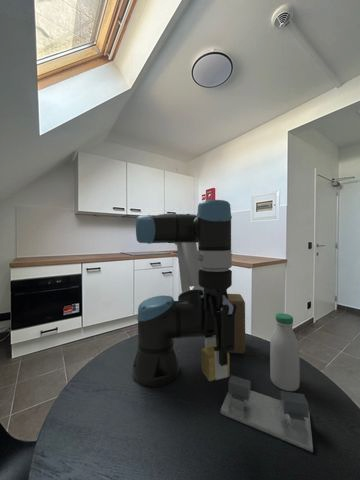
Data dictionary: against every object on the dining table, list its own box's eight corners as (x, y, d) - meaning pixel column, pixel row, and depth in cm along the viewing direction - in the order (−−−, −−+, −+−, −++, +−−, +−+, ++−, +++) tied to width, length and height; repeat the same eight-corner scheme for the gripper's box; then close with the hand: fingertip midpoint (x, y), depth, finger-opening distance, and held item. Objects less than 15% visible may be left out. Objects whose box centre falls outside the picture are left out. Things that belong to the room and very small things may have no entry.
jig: (220, 413, 50) (220, 389, 50) (231, 387, 58) (231, 366, 58) (312, 452, 40) (312, 423, 40) (309, 414, 49) (308, 389, 49)
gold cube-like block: (209, 381, 43) (209, 358, 43) (201, 370, 47) (201, 348, 47) (229, 376, 45) (229, 353, 45) (220, 365, 49) (220, 345, 49)
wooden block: (217, 339, 86) (216, 292, 85) (241, 341, 84) (241, 293, 84) (218, 353, 76) (217, 300, 75) (245, 355, 74) (245, 300, 74)
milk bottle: (304, 394, 55) (303, 321, 55) (273, 390, 57) (273, 319, 57) (294, 375, 63) (293, 311, 63) (267, 372, 65) (267, 310, 64)
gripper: (186, 265, 53) (187, 354, 53) (219, 276, 37) (220, 403, 37) (211, 263, 56) (212, 348, 56) (253, 273, 39) (254, 393, 39)
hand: (215, 370), depth 46 cm, fingers closed on gold cube-like block, 4 cm apart
